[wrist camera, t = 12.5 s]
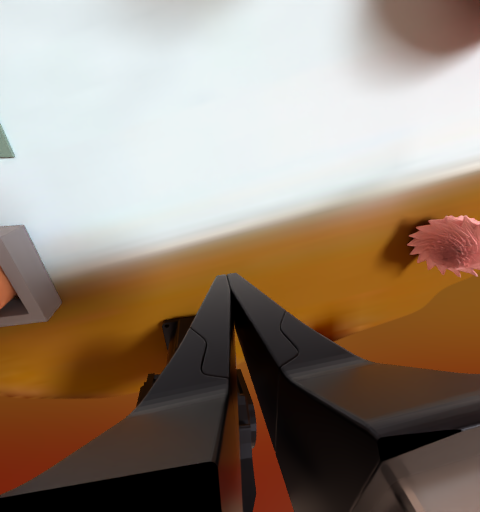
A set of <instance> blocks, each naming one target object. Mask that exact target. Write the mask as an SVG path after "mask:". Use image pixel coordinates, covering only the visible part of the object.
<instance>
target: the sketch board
mask: <svg viewBox="0 0 480 512" xmlns="http://www.w3.org/2000/svg"><path fill="white" fill-rule="evenodd" d="M0 157H15V155H14V153H13V151H12V149H11V146H10V144H9V142H8V140H7V137H6V135H5V133H4V131H3V128H2V126H1V124H0Z"/></svg>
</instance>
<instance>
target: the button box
mask: <svg viewBox="0 0 480 512" xmlns="http://www.w3.org/2000/svg"><path fill="white" fill-rule="evenodd" d="M0 266H1V268H2V270H3V271H4V273H5V275H6V276H7V278H8V280H9V281H10V283H11V285H12V286H13V288H14V290H15V291H16V293H17V294H18V296H19V298H20V299H12V300H11V301H9V302H8V303H7V304H6V305H5V306H4V307H3V308H1V309H0V327H4V326H12V325H21V324H29V323H37V322H45V321H48V320H49V319H50V317H51V316H52V315H53V314H54V312H55V311H56V310H57V309H58V308H59V306H60V305H61V304H62V301H61V299H60V297H59V295H58V293H57V291H56V289H55V287H54V285H53V283H52V281H51V279H50V277H49V275H48V273H47V271H46V269H45V267H44V265H43V263H42V261H41V259H40V257H39V255H38V252H37V250H36V248H35V246H34V244H33V242H32V240H31V238H30V236H29V234H28V232H27V230H26V228H25V226H24V225H17V226H0Z"/></svg>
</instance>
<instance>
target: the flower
mask: <svg viewBox="0 0 480 512" xmlns="http://www.w3.org/2000/svg"><path fill="white" fill-rule="evenodd" d="M428 221H429V223H430V225H424V226H418V227H416V228H417V229H418V230H420V231H418V232H416V233H414V234H411V235H409V237H412V238H414V239H413V240H412V241H411V242H409V243H408V244H407V246H415V247H414V249H413V250H412V252H411V253H410V254H411V255H414V254H419V257H418V260H417V262H418V263H420V262H422V261H425V260H426V261H427V266H428V270H430V269H431V268H432V267H433V266H435V265H436V266H437V268H438V269H439V270H440V272H441V273H442V274H444V273H445V270H446V269H448V270H450V271H453V272H454V273H455V274H456V275H457V276H458V277H461V276H460V271H463V272H467V273H471V274H473V275H474V276H478V275H477V274H476V273H475V272H474V270H473V269H479V270H480V222H479V221H477V220H475V219H474V218H468V217H467V216H459V217H454V216H452V215H451V216H449V217H448V216H446V217H445V218H444V219H438V220H428ZM410 254H409V255H410ZM472 268H473V269H472Z"/></svg>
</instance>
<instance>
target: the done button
mask: <svg viewBox="0 0 480 512" xmlns="http://www.w3.org/2000/svg"><path fill="white" fill-rule="evenodd" d="M16 295H17V293H16V291H15V290H14V288H13V286H12V285H11V283H10V281H9V280H8V278H7V276H6V275H5V273H4V271H3V270H2V268H1V266H0V309H1V308H3V307H4V306H5V305H6V304H7V303H8V302H9V301H11V300H12V299H13V298H14V297H15V296H16Z"/></svg>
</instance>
